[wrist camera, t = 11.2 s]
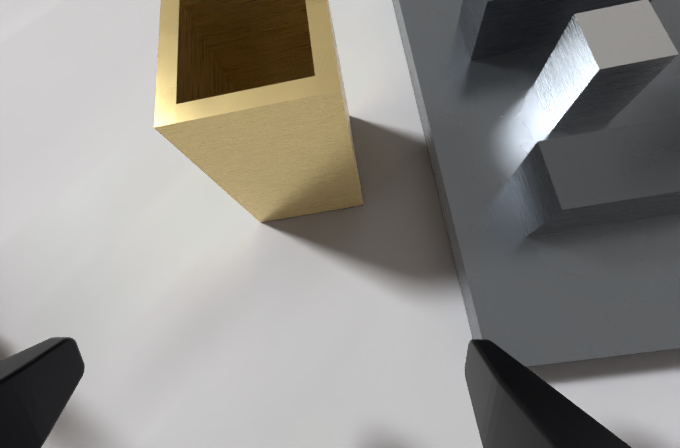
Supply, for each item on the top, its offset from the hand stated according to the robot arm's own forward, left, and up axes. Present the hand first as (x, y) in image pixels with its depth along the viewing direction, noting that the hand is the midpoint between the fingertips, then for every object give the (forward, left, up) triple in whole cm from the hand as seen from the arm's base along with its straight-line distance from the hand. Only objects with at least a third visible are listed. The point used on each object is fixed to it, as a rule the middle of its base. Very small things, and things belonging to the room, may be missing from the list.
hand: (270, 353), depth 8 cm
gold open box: (+6, -5, -7) cm, 11 cm away
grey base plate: (-1, -15, -7) cm, 16 cm away
